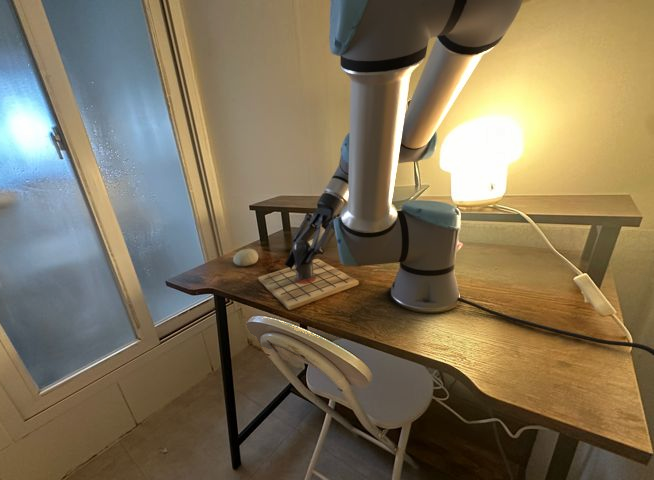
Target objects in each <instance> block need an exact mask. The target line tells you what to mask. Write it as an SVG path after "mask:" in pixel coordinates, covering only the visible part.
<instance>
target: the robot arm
mask: <svg viewBox="0 0 654 480" xmlns="http://www.w3.org/2000/svg"><path fill="white" fill-rule="evenodd" d="M523 1H524V0H330V8H329V9H330V10H329V50H330V52H331V54H332V55H334V56H336V57H339V58H340V59H339V60H340V61H339V63H340V69H341V70H342V71H343V72H344V74H346V75H347V77H349V79H350V90H349V94H350V97H349V132H348V133H347V134H346V135H345V137H344V139H343V141H342V144H341V148H340V158H339V161H338V163H339V164H338V166H337V168H336V169H335V171H334V173H333V175H332V177H331V178H330V180H329V181H328V183H327V184H326V186H325V188H324V190H323V193H322V194H321V195H320V197H319V199H318V200H317V202H316V206H317V208H316V210H314V212H313V213H310V212H306V213H305V216H304V219H303V221H302V223H301V224H300V225H299V227H298V229H297V231H296V232H295V234H294V235H293V236H292V239H291V242H293V245H294V244H295V243H296V242H297V241H299V240H306V241H308V242H309V239H311V237H312V236H313V235H314V234H315V235H314V237H313V238H312V239H313V242H312V245H311V247H310V248H308V250H307V251H306V252H305V254H304V256H303V257H302V259H301V261H300V263H299V264H298V266H297V268H296V269H295V270H296V271H298V272H299V273H301V274H304V272H305V270H306V269H307V267H308V265H309V264H311V262H312V260H314V259H315V257H316V256H318V255H319V254H320V255H323V254H324V253H325V251H326V249H327V248H328V246H329V244H330V242H331V240H332V239H333V237H334V235H335V238H336V244H337V250H338V256H339V260H340V263H341V264H342V265H343V266H344V267H358V268H359V267H367V266H377V265H387V264H396V263H397V264H398V263H399V267H398V270H397V273H396V275H395V278H394V280H393V283H392V284H391V289H390V298H391V300H392V301H393V302H394V303H395V304H396V305H397V306H399V307H401V308H403V309H405V310H409V311H412V312H417V313H423V314H439V313H443V312H444V313H445V312H447V311H450V310H453V309H454V308H456V307H457V306H458V305H459V302H461V303H464V304H466V305H469V306H471V307H474V308H476V309H478V310H480V311H483V312H486V313H488V314H491V315H494V316H497V317H499V318H502V319H505V320H509V321H512V322H516V323H519V324H523V325H526V326H530V327H535V328H536V329H537V328H538V329H542V330H545V331H548V332H553V333H556V334H559V335H564V336H568V337H572V338H577V339H580V340H585V341H588V342H594V343H598V344H603V345H608V346H618V347H628V348H635V349H640V350H643V351H646V352H648V353H650V354H651V355H652V356H654V348H652V347H650V346H648V345H645V344H641V343H638V342H629V341H619V340H609V339H603V338H598V337H595V336H589V335H585V334H581V333H580V334H579V333H576V332H572V331H569V330H564V329H559V328H557V327H556V328H555V327H551V326H547V325H544V324H539V323H535V322H532V321H528V320H526V319H522V318H517V317H515V316H511V315H508V314H505V313H502V312H498V311H495V310H493V309H490V308H487V307H485V306H483V305H480V304H477V303H475V302H473V301H470V300H468V299H464V298H462V297H461V294H460V288H459V285H458V280H457V277H456V273H455V266H456V259H457V252H458V251H457V246H458V241H459V239H460V238H459V237H460V231H461V228H462V227H461V219H462V215H461V211H460V209H459V208H458V207H457V206H455V205H453V204H450V203H447V202H443V201H435V200H424V199H420V200H419V199H416V200H415V199H414V200H409V201H405V202H403V203H402V206H401V208H400V210H398V209H397V207H396V206H395V205H394V204H393V203H392V202H393V197H394V196H393V195H394V190H395V189H394V188H395V181H396V175H397V170H398V164H405V163H416V162H420V161H423V160H424V161H425V160H428V159H431V158H432V157H433V156H434V154H435V153H436V148H437V145H438V133H437V130H438V128H439V126H440V125H441V124H442V121H443V120H444V119H445V117H446V115H447V114H448V112H449V111H450V110H451V109H450V108H451V107H452V106H453V104H454V102H455V101H456V99H457V98H458V96H459V94H460V93H461V91H462V89H463V88H464V86H465V85H466V83H467V81H468V80H469V78H470V77H471V75H472V74H473V72H474V71H475V68H476V67H477V66H478V64H479V63H480V61H481V60H482V58H483V56H484V55H485V54H487V53H488V52H490V51H492V50H493V49H494V48H495V47H497V45H499V44H500V42H501V41H502V39H503V38H504V36H505V35H506V33H507V32H508V30H509V28H510V27H511V25H512V24H513V23H514V20H515V19H516V17H517V15H518V13H519V11H520V9H521V7H522V5H523ZM431 38H435V40H434V43H433V45H432V48H431V50H430V52H429V55H428V57H427V59H426V56H427V50H428V46H429V45H428V44H429V40H430V39H431ZM425 59H426V62H425V65H424V67H423V70H422V72H421V74H420V76H419V79H418V81H417V84H416V85H415V88H414V91H413V93H412V96H411V98H410V101H409V103H408V97H409V91H410V83H411V78H412V73H413V72H414V71H415V70H416V69H417V68H418V67H419V66H420V65H421V64H422V63H423V62H424V61H425ZM407 104H408V106H407ZM320 248H321V249H320ZM309 250H310V251H309ZM283 265H285V266H286V267H287V268H291V269H292V267H293V266H295V262H294V254H293V247H292V248H291V250H290V251H289V255H288V256H287V258H286V260H285V261H284V264H283Z"/></svg>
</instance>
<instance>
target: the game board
mask: <svg viewBox="0 0 654 480" xmlns="http://www.w3.org/2000/svg"><path fill="white" fill-rule="evenodd" d="M312 261H313V272H314V275H313V277H311V278H308V279H299V278H297V277H296V270H295V265H293V267H292V269H291V268H289V267H286V268H283V269H279V270H277V271H273V272H270V273H267V274H263V275H261V276H258V277H257V278H258V281H259V282H260V283H261V284H262V285H263V286H264V287H265V289H267V290H268V292H270V293H271V294H272V295H273V296H274V297H275V298H276V299H277V300H278V301H280V303H281V304H282V305H283V306H285V308H286V309H287V310H288V311H291V310H294V309H297V308H300V307H302V306H306V305H308V304H310V303H313V302H316V301H319V300H321V299H324V298H326V297H330V296H332V295H334V294H337V293H340V292H343V291H345V290H348V289H351V288H354V287H356V286H357V287H358V286H359V285H360V283H359V280H357V279H355V278H354V277H352V276H351V275H348V274H347V273H344V272H343V271H342V270H339V269H337V268H336V267H334V266H332V265H330V264H329V263H326V262H324V261H323V260H321V259H320V258H314V259H313V260H312Z"/></svg>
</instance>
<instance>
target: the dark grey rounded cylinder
mask: <svg viewBox="0 0 654 480" xmlns="http://www.w3.org/2000/svg"><path fill="white" fill-rule="evenodd" d="M310 247H311V245H310V243H309V240H308V241H306V240H299V241H297V242H296V243H295V244H294V243H293V246H292V248H293V254H294V262H295V264H294V266H295V269H296V268H297V266H298V264H299V263H300V261H301V259H302V257H303V256H304V254H305V252H306V251H307V250H308V248H310ZM309 251H310V250H309ZM313 275H314V272H313V261H312V262H311V264H309V265H308V267H307V269H306V270H305V272H304V274H301V273H299V272H298V271H296V277H297V278H299V279H308V278H311V277H313Z"/></svg>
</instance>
